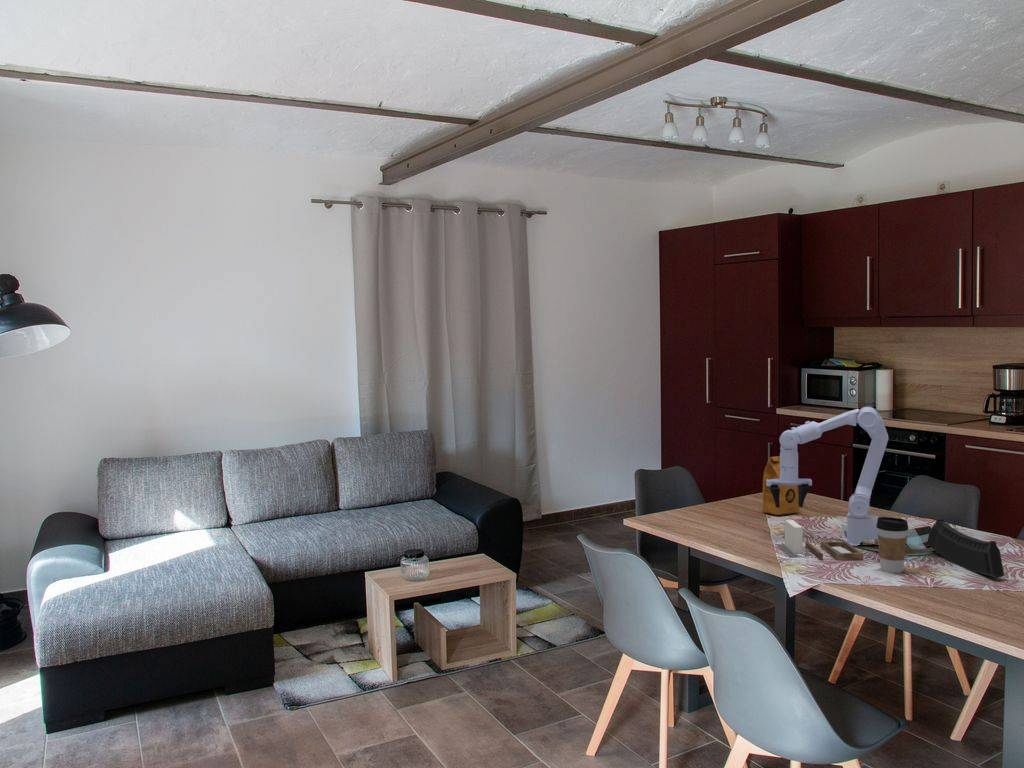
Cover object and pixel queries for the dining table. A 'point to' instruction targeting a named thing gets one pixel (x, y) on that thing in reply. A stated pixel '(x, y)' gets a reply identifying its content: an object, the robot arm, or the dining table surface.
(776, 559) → the dining table surface
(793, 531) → the white rectangular block
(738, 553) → the dining table surface
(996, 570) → the magazine
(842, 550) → the offcut upper
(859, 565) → the dining table surface
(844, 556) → the brown wooden frame
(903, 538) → the coffee cup
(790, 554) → the mat
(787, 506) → the coffee package
